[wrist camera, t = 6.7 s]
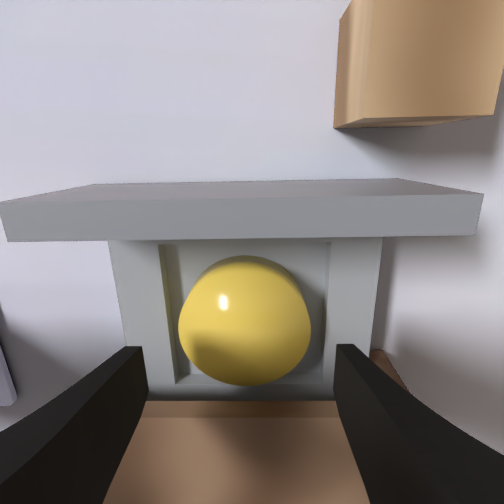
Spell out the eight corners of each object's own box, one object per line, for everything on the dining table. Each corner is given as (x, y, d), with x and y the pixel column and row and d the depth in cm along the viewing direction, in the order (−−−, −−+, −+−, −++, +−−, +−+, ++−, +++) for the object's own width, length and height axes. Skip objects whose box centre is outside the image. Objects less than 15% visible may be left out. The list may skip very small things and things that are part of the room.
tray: (130, 383, 18) (76, 481, 12) (94, 184, 14) (-4, 202, 9) (371, 383, 17) (420, 483, 12) (397, 178, 14) (484, 193, 8)
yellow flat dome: (191, 356, 16) (182, 384, 14) (185, 253, 14) (173, 269, 12) (300, 359, 16) (305, 387, 14) (308, 256, 14) (316, 272, 12)
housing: (144, 490, 21) (114, 578, 16) (118, 351, 17) (71, 417, 13) (363, 492, 20) (391, 582, 16) (382, 350, 17) (425, 417, 12)
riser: (333, 128, 13) (363, 118, 9) (339, 19, 12) (377, -42, 8) (425, 125, 13) (493, 114, 9) (441, 16, 12) (528, -48, 8)
